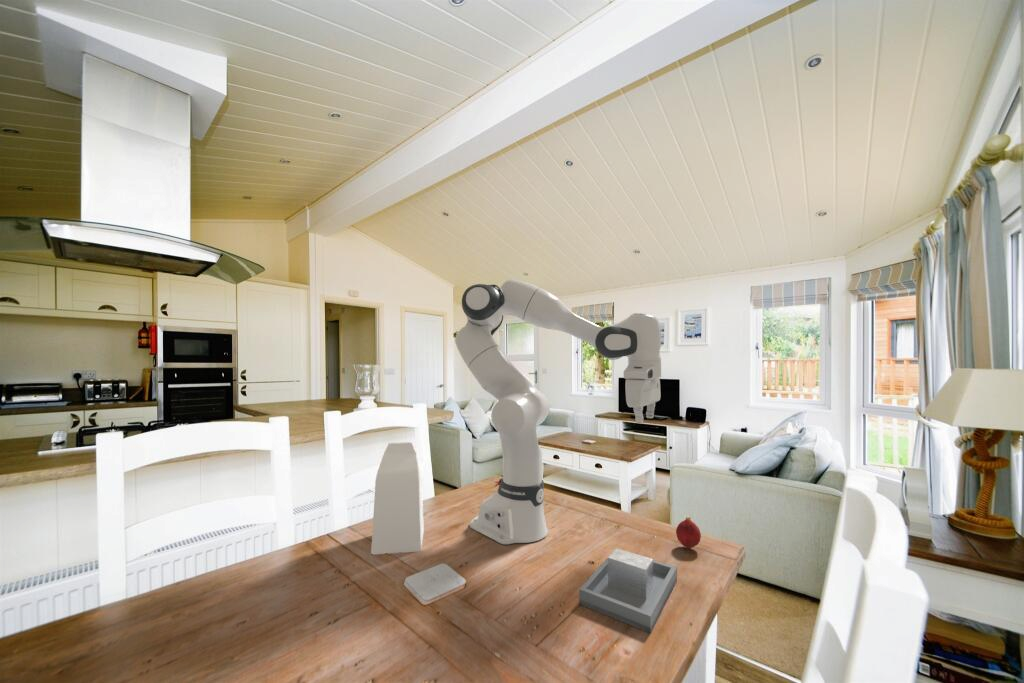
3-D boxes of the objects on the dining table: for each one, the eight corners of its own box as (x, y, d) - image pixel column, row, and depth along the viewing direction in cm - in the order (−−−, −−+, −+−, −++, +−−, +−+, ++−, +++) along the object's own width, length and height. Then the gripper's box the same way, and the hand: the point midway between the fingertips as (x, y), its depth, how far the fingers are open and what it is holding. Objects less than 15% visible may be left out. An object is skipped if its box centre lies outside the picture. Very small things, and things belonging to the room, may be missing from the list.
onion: (703, 555, 99) (703, 522, 99) (678, 553, 100) (678, 520, 100) (697, 544, 105) (697, 513, 105) (674, 542, 106) (674, 511, 106)
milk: (371, 554, 98) (372, 448, 99) (379, 533, 110) (380, 438, 110) (420, 551, 100) (421, 447, 101) (423, 530, 112) (424, 437, 112)
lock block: (607, 586, 84) (607, 557, 84) (616, 575, 88) (616, 548, 88) (646, 600, 79) (646, 569, 79) (653, 588, 83) (653, 559, 84)
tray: (579, 604, 79) (579, 589, 80) (615, 561, 96) (615, 548, 96) (650, 633, 71) (650, 616, 72) (676, 580, 88) (676, 567, 88)
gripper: (644, 369, 123) (644, 414, 122) (621, 372, 106) (621, 424, 106) (665, 370, 119) (666, 416, 119) (645, 373, 102) (645, 427, 102)
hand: (644, 420), depth 112 cm, fingers open, 8 cm apart
